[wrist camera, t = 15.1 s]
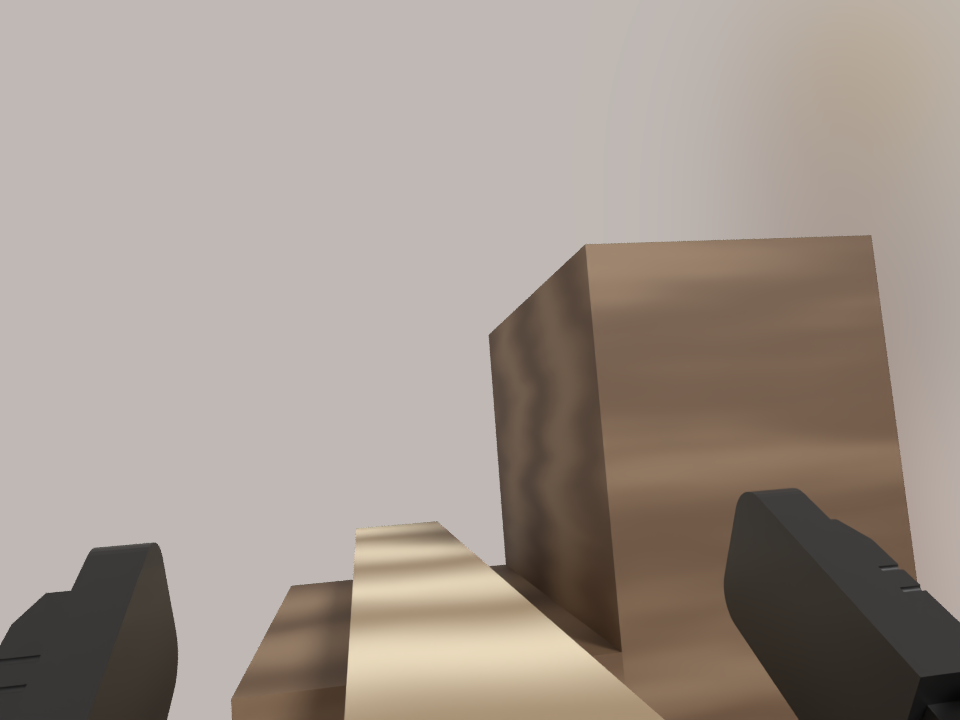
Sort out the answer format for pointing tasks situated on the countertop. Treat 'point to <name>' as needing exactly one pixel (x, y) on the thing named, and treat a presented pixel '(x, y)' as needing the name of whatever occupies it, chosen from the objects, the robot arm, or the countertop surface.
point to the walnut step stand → (656, 461)
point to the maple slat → (462, 641)
